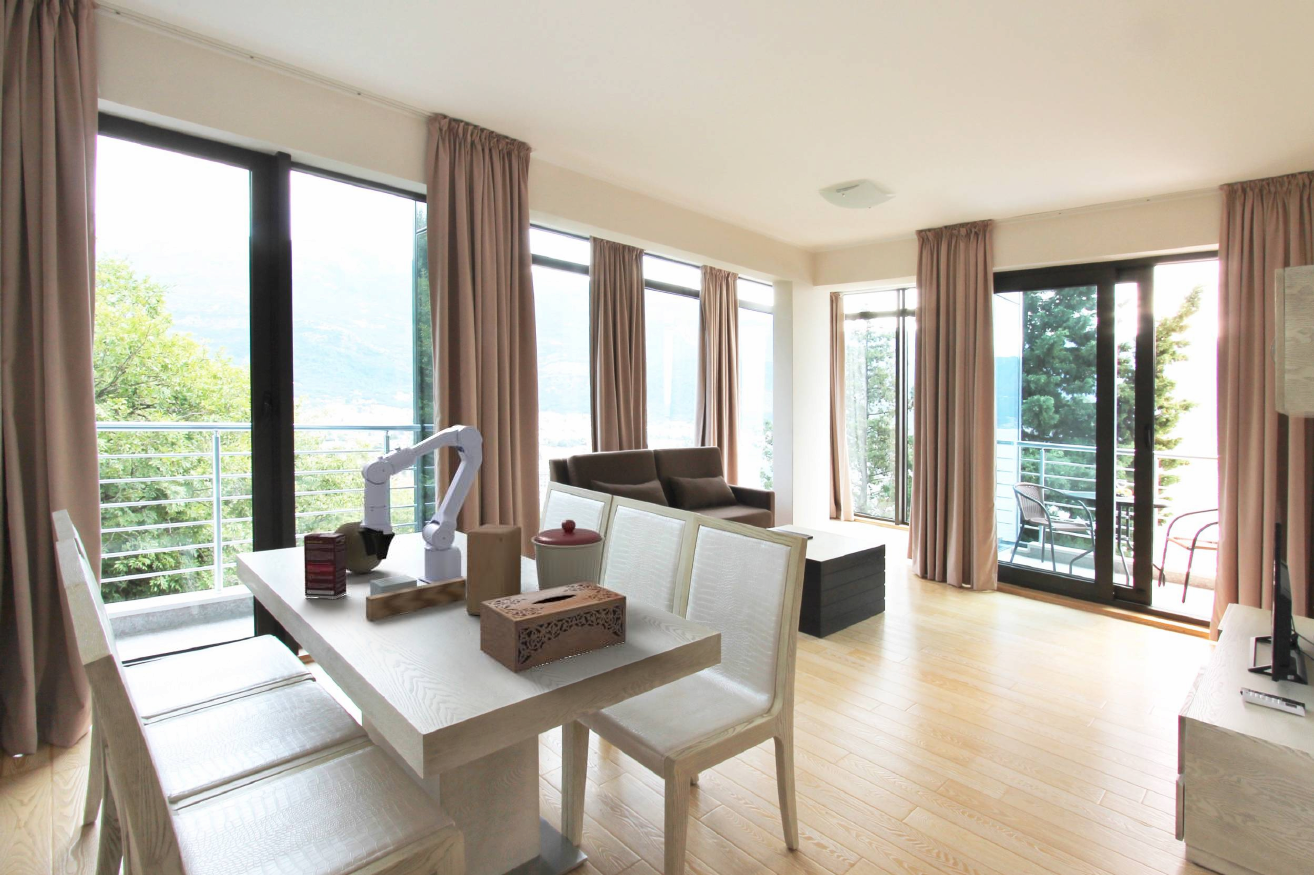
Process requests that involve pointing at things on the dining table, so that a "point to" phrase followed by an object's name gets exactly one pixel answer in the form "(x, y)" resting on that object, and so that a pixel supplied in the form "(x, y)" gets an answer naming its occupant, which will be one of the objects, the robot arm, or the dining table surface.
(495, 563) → the wooden block
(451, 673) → the dining table surface
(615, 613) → the tissue box cover
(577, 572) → the canister
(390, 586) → the block
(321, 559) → the supplement box
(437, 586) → the board
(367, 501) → the robot arm
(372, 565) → the cantaloupe
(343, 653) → the dining table surface
